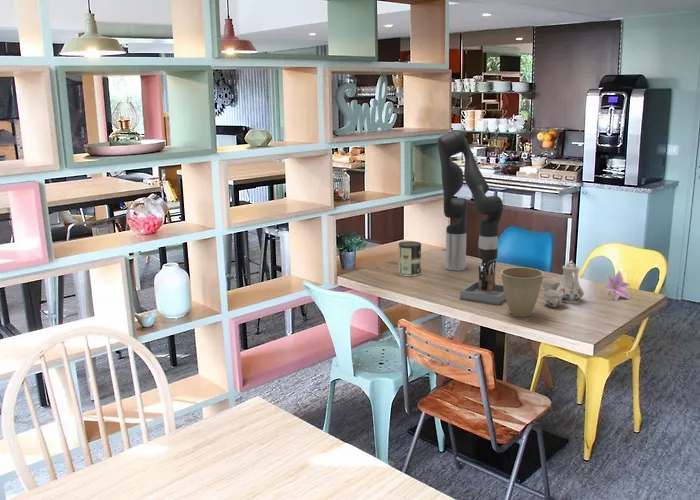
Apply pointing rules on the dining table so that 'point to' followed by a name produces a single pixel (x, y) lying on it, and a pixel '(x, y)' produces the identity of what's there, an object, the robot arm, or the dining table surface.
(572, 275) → the chinaware
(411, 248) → the coffee can
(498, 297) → the grey tray
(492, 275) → the walnut block
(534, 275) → the plant pot
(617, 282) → the lily
